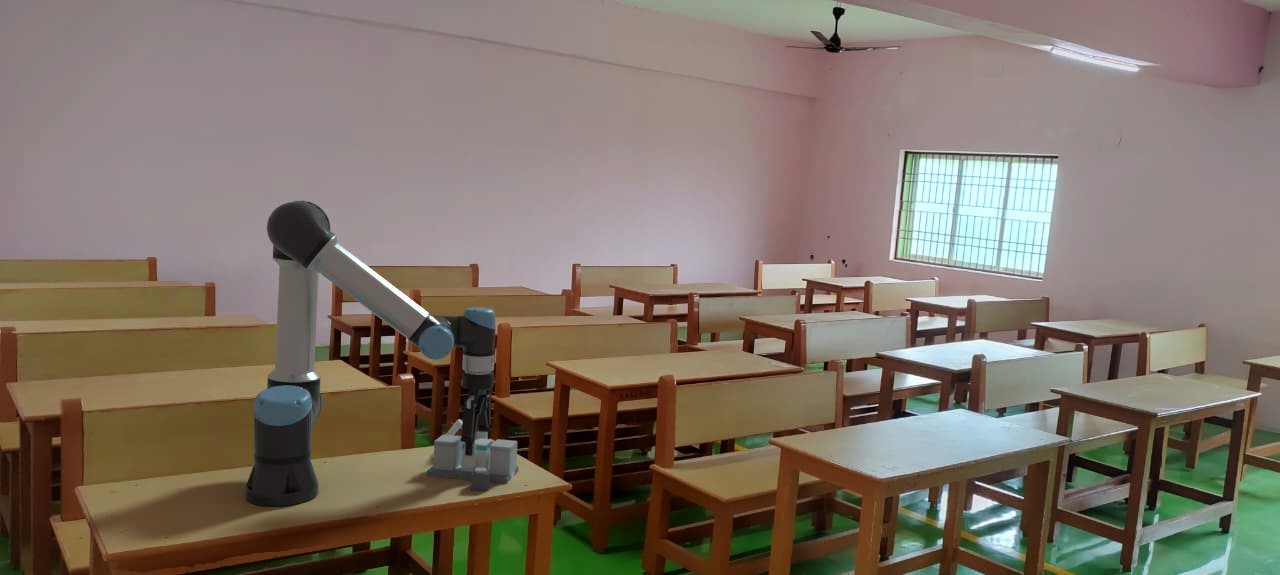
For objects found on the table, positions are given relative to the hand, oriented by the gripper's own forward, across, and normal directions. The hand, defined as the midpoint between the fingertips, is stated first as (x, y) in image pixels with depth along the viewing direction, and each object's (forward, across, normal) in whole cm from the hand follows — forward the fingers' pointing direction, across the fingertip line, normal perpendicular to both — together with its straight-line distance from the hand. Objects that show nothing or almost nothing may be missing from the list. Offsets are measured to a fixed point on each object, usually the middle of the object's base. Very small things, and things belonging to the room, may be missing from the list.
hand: (475, 462), depth 227 cm
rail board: (+3, 0, 0) cm, 3 cm away
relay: (+3, -10, -4) cm, 11 cm away
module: (+2, 0, 0) cm, 2 cm away
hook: (+3, +12, +12) cm, 17 cm away
